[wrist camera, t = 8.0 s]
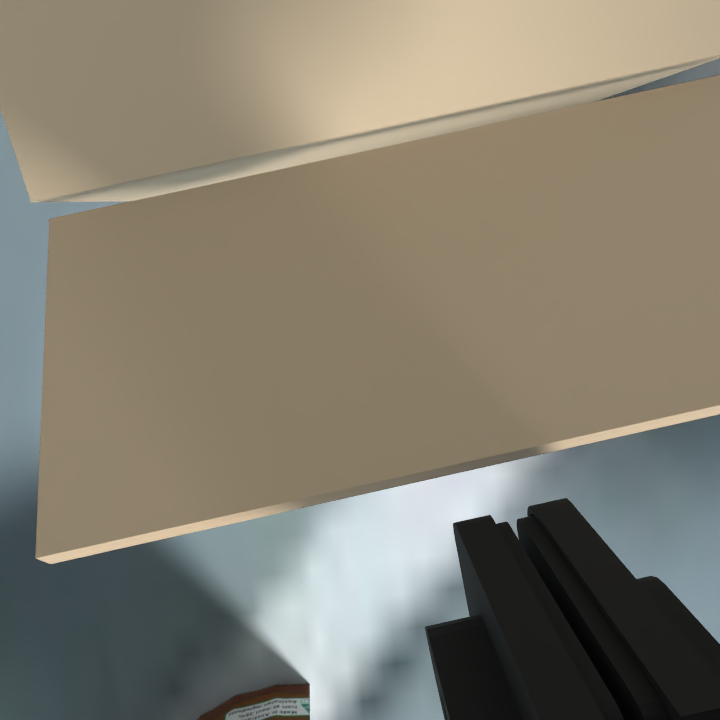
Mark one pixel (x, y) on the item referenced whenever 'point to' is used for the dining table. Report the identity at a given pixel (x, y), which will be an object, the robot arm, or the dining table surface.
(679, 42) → the carton
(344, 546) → the dining table surface
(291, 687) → the food container
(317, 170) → the flap
